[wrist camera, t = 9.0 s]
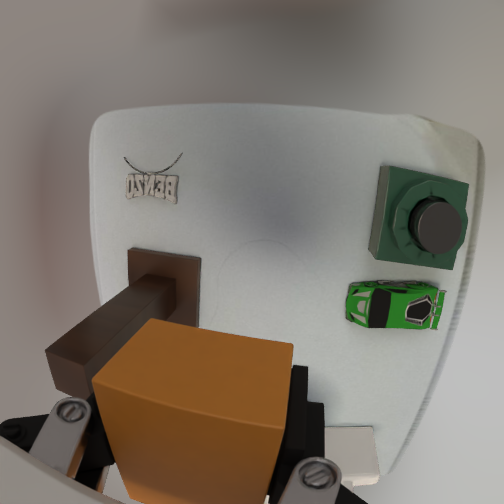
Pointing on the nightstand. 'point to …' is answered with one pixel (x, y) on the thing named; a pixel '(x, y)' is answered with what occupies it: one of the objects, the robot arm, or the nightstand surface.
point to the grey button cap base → (401, 208)
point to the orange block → (195, 413)
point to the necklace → (152, 185)
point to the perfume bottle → (353, 454)
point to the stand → (126, 317)
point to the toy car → (394, 305)
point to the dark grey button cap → (436, 226)
